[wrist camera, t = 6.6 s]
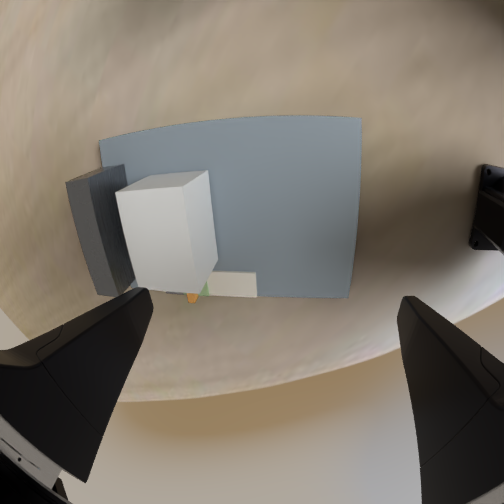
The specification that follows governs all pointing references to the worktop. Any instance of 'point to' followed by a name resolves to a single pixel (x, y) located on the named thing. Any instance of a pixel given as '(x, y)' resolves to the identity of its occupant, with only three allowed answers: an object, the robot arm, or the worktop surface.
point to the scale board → (265, 197)
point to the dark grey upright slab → (102, 228)
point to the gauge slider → (170, 231)
